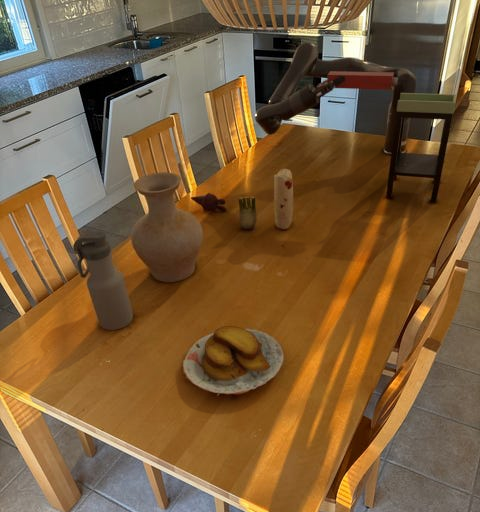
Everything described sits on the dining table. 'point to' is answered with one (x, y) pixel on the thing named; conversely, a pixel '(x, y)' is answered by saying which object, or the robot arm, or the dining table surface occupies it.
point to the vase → (165, 230)
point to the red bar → (364, 80)
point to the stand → (417, 162)
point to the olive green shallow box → (426, 103)
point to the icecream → (210, 202)
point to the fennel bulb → (247, 213)
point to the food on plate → (233, 360)
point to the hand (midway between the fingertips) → (345, 75)
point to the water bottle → (103, 281)
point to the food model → (283, 198)
